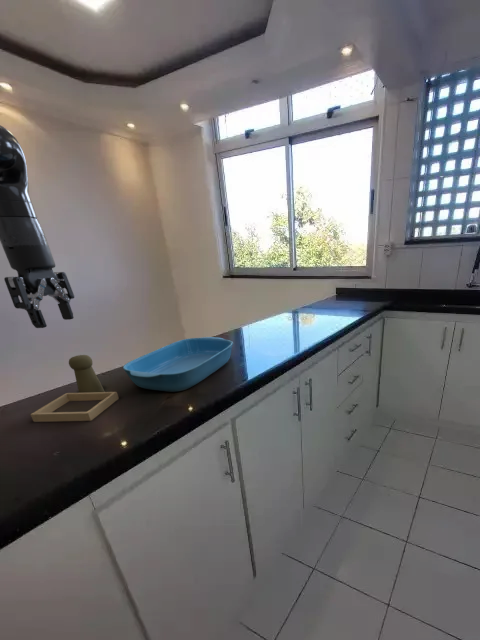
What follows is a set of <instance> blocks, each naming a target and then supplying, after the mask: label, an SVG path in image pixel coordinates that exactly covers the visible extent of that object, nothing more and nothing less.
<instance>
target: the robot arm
mask: <svg viewBox="0 0 480 640" xmlns="http://www.w3.org/2000/svg"><path fill="white" fill-rule="evenodd" d="M28 176H29V175H28V166H27V160H26V156H25V153H24V151H23V148H22V146H21V144H20V142H19V141H18V139H17V138H16V137H15V135H14V134H13V132H11V131H9V129H7V128H6V127H4V126H2V125H0V244H1V246H2V249H3V252H4V254H5V256H6V259H7V261H8V264H9V266H10V268H11V269H12V270H14V271H16V272H17V276H5V277H4V283H5V285H6V288H7V291H8V293H9V296H10V299H11V301H12V304H13V307H14V308H15V309H17V310H18V309H19V310H20V309H21V310H24V311H26V312H27V314H28V317H29V319H30V322H31V324H32V325H33V327H34V328H36V329H44V328H46V327H47V323H46V320H45V318H44V315H43V312H42V310H41V309H40V306H41V305H40V304H41V301H43V299H44V297H47V296H48V297H51V298H52V299H53V300H55V302H56V303H57V307H58V309H59V312H60V315H61V317H62V319H63V320H64V321H65V320H66V321H67V320H69V321H70V320H73V319H74V312H73V310H72V307H71V303H70V302H71V300H73V299H75V294H74V292H73V291H74V290H73V288H72V286H71V284H70V281H69V279H68V276H67V273H66V272H64V271H56V272H55V271H54V270H53V269H54V268H55V267H56V262H55V260H54V256H53V254H52V251H51V248H50V245H49V243H48V240H47V236H46V234H45V231H44V229H43V227H42V225H41V223H40V221H39V218H38V216H37V213H36V210H35V207H34V205H33V202H32V199H31V197H30V191H29V189H30V188H29V177H28ZM65 290H66V291H65Z"/></svg>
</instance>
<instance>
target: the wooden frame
mask: <svg viewBox="0 0 480 640" xmlns="http://www.w3.org/2000/svg"><path fill="white" fill-rule="evenodd" d="M118 400H119V394H118V392H117V391H105V392H89V393H79V392H66V393H64V394H62V395H60V396H58V397H57V398H55V399H54V400H52V401H50V402H49V403H47V404H45V405H43V406H42V407H40V408H39V409H37V410H35V411H33V412H32V413H31V414H29V415H30V417H31V419H32V421H33V423H38V422H39V423H43V422H45V423H46V422H47V423H49V422H87V421H88V422H92V421H93V420H94V419H95V418H97V417H98V416H99V415H100V414H102V413H104V411H105V410H107V409H108V408H110V406H112V405H113V404H114V403H115V402H117V401H118ZM83 401H99V402H98V403H97V404H95V405H94V406H92V407H91V408H90V409H89V410H87V411H59V412H58V411H57V412H55V411H56V410H58V409H59V408H61V407H63V406H64V405H66V404H67V403H69V402H83Z"/></svg>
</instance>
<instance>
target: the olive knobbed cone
mask: <svg viewBox="0 0 480 640" xmlns="http://www.w3.org/2000/svg"><path fill="white" fill-rule="evenodd" d="M68 366H69V367H70V368H71V369H72V370H73V373H74V377H75V381H76V386H77V391H78V393H89V392H106V391H105V389H104V387H103V385H102V383H101V381H100V379H99V377H98V376H97V374H96V372H95V370H94V368H93V359H92V357H90V356H89V355H87V354H78V355H74V356H71V357H70V358H69V359H68Z"/></svg>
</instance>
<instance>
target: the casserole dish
mask: <svg viewBox="0 0 480 640" xmlns="http://www.w3.org/2000/svg"><path fill="white" fill-rule="evenodd" d="M233 345H234V342H233V341H232V340H229V339H225V338H222V337H217V336H204V337H203V336H202V337H190V338H184V339H180V340H177V341H174V342H171V343H170V344H167V345H164V346H163V347H160V348H158V349H155V350H153V351H150V352H149V353H146V354H143V355H141V356H139V357H136V358H135V359H133V360H130V361H128V362H127V363H125V364H124V365H123V366H122V370H123V371H125V373H126V375H127V376H128V378H129V379H130V380H131V382H132V383H133V384H134V385H136V386H137V387H139V388H140V389H141V388H142V389H145V390H150V391H158V392H166V393H167V392H168V393H179V392H183V391H186V390H189V389H190V388H193V387H194V386H196V385H197V384H199V383H201V382H202V381H203V380H206V379H207V378H208V377H209V376H210V375H212V374H214V373H216V371H218V370H219V369H221V368H223V367H224V366H225V365H226V363H228V362H229V360H230V358H231V356H232V351H233V350H232V349H233Z"/></svg>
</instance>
